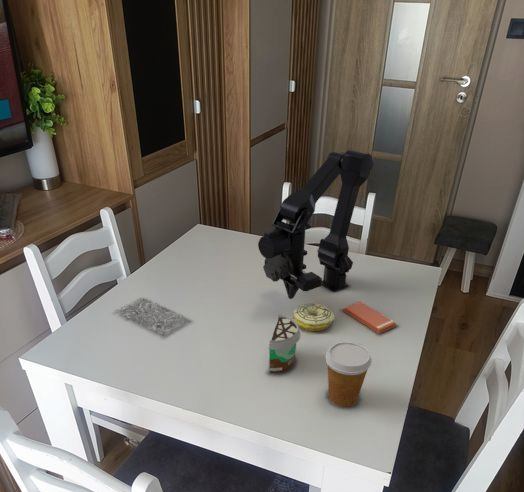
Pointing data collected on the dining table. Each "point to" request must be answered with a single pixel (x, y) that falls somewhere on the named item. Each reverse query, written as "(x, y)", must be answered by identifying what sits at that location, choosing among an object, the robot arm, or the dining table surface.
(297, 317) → the decorated donut
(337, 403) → the disposable coffee cup
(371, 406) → the dining table surface
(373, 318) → the orange flat bar
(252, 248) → the dining table surface
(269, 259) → the robot arm
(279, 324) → the food container
